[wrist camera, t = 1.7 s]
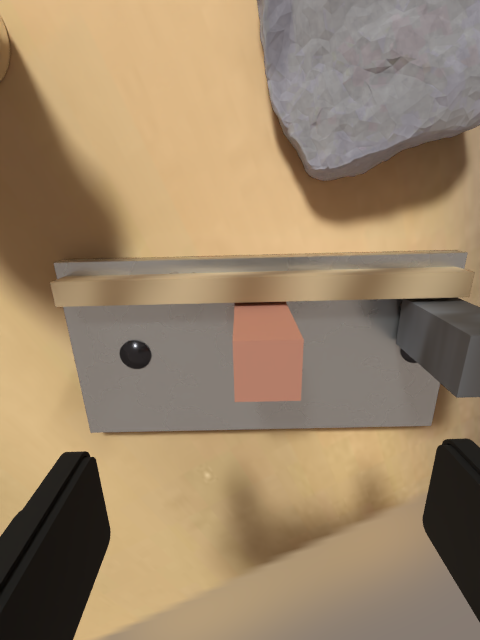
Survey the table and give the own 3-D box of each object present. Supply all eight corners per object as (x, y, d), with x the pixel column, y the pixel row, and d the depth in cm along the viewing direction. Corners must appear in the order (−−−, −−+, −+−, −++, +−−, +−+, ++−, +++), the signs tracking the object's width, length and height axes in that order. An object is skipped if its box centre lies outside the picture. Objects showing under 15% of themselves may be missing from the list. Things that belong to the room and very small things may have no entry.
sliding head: (285, 300, 19) (303, 339, 14) (283, 360, 21) (300, 419, 15) (234, 301, 19) (232, 341, 14) (236, 361, 21) (235, 420, 15)
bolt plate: (454, 249, 20) (468, 252, 18) (422, 415, 24) (432, 426, 22) (64, 259, 20) (52, 263, 19) (97, 421, 24) (90, 433, 23)
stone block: (303, 198, 21) (482, 124, 17) (301, 201, 16) (539, 103, 13) (233, -21, 17) (438, -161, 14) (207, -91, 13) (495, -317, 10)
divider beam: (456, 266, 19) (555, 294, 13) (438, 354, 21) (517, 414, 15) (64, 276, 19) (-15, 308, 13) (83, 362, 21) (21, 424, 15)
